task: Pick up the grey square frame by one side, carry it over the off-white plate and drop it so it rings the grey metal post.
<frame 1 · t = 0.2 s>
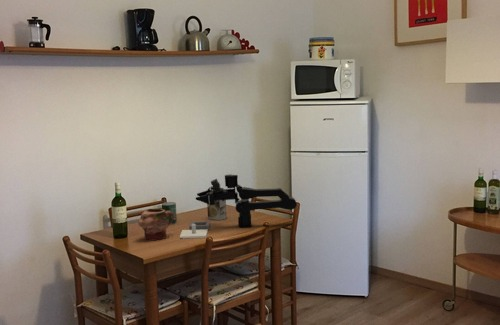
hand: (196, 196, 290), 17 cm above the table, fingers open, 9 cm apart
decorative planter: (157, 237, 276), on the table
post stand: (194, 234, 278), on the table
coffee box: (217, 218, 313), on the table
grey square frame: (200, 228, 291), on the table
canned tomato: (169, 223, 305), on the table
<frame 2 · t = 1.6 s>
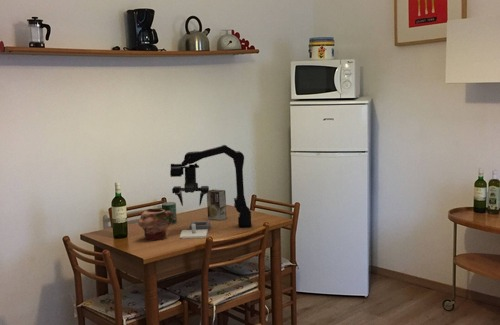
hand: (191, 205, 289), 12 cm above the table, fingers open, 9 cm apart
nothing on the table moved.
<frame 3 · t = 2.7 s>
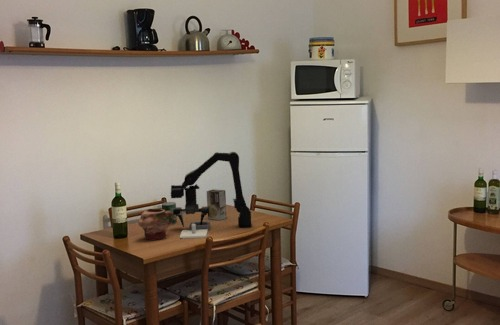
hand: (192, 226, 290), 1 cm above the table, fingers open, 9 cm apart
nothing on the table moved.
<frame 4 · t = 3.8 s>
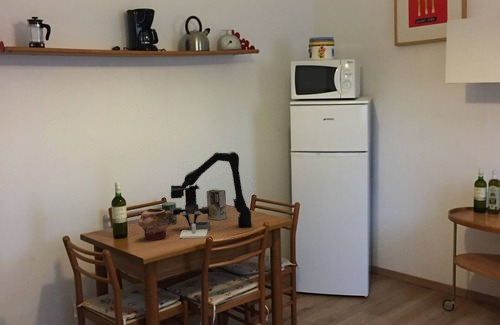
hand: (192, 226, 290), 1 cm above the table, fingers closed on grey square frame, 2 cm apart
grey square frame: (200, 228, 291), on the table, touching gripper
everything else where it was.
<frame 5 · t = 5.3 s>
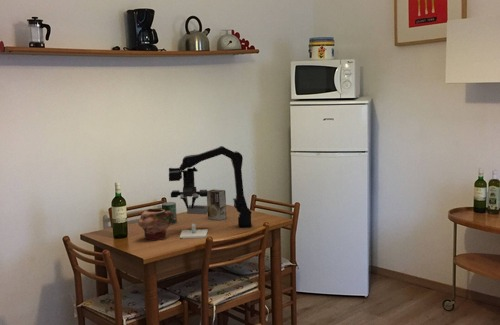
hand: (190, 209, 287), 11 cm above the table, fingers closed on grey square frame
grey square frame: (197, 211, 287), point 9 cm above the table, touching gripper
everything else where it was.
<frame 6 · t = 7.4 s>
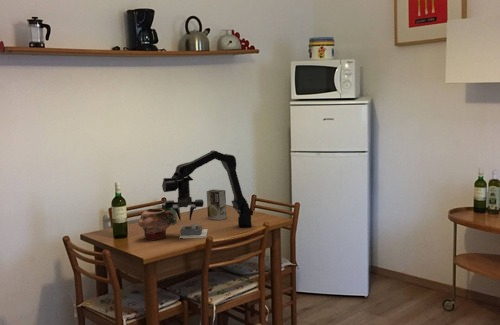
hand: (185, 220, 277), 7 cm above the table, fingers open, 5 cm apart
grey square frame: (191, 232, 278), point 1 cm above the table, touching post stand
everything else where it was.
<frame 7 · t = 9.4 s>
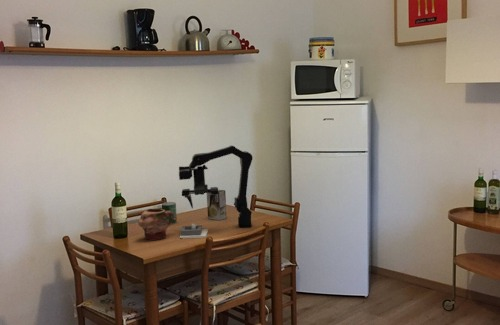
hand: (201, 207, 287), 11 cm above the table, fingers open, 9 cm apart
nothing on the table moved.
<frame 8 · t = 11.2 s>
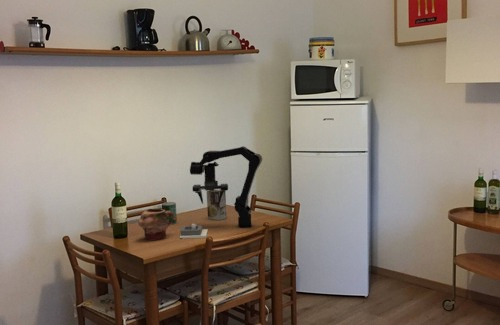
hand: (211, 203, 295), 12 cm above the table, fingers open, 9 cm apart
nothing on the table moved.
at the end: grey square frame 1.2 cm off-centre on the post stand, point 1.0 cm above the post stand's base; grey square frame tilted 0°; the gripper is holding nothing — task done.
